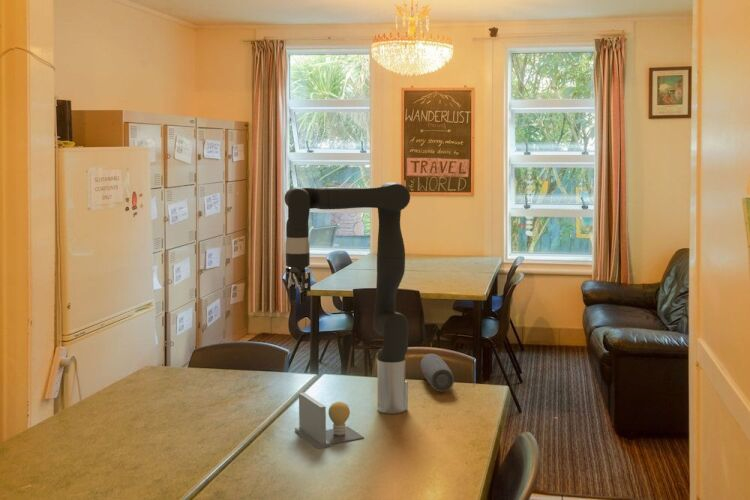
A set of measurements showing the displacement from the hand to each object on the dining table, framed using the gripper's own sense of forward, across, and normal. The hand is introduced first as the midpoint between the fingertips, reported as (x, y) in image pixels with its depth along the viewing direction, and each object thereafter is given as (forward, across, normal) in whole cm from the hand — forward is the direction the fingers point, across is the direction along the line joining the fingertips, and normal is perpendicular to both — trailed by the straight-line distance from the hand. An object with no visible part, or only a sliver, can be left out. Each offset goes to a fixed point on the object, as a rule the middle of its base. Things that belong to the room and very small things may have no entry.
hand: (297, 302), depth 251 cm
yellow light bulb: (+38, -21, -4) cm, 43 cm away
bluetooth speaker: (+38, +8, -58) cm, 70 cm away
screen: (+38, -19, +4) cm, 43 cm away
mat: (+38, -21, -4) cm, 44 cm away
